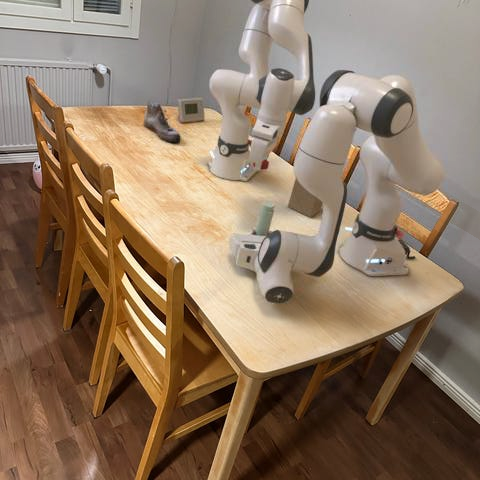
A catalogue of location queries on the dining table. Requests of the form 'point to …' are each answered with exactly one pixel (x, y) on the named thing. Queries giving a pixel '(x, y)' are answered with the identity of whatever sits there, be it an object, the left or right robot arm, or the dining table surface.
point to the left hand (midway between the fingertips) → (260, 167)
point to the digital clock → (191, 110)
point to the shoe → (160, 123)
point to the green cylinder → (264, 219)
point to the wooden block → (304, 200)
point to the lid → (263, 164)
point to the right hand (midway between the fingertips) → (260, 231)
